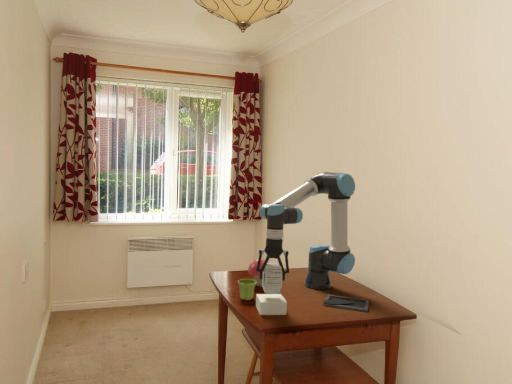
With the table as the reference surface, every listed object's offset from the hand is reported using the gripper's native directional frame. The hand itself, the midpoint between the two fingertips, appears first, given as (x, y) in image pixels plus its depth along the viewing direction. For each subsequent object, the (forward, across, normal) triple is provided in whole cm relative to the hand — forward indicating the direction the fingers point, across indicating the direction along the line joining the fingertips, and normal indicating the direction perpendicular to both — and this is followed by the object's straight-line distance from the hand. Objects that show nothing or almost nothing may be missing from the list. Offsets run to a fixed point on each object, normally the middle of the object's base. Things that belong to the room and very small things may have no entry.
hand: (271, 286), depth 195 cm
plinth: (+11, 0, 0) cm, 11 cm away
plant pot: (+11, -12, +15) cm, 22 cm away
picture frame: (+12, +38, +16) cm, 43 cm away
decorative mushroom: (+11, -6, +37) cm, 39 cm away
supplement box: (+2, 0, 0) cm, 2 cm away
